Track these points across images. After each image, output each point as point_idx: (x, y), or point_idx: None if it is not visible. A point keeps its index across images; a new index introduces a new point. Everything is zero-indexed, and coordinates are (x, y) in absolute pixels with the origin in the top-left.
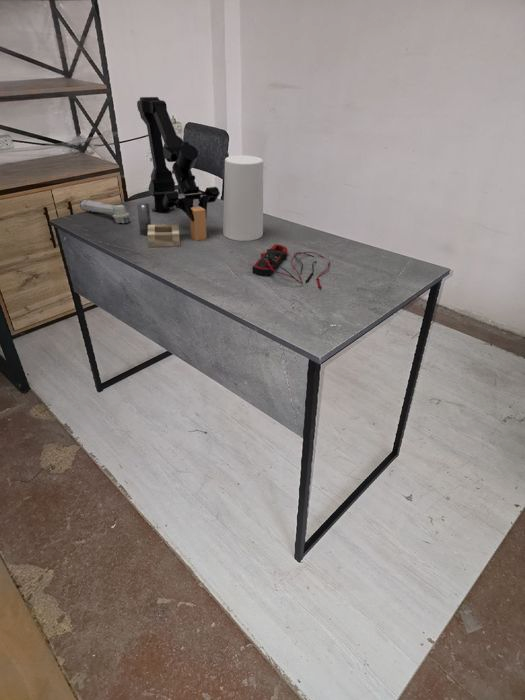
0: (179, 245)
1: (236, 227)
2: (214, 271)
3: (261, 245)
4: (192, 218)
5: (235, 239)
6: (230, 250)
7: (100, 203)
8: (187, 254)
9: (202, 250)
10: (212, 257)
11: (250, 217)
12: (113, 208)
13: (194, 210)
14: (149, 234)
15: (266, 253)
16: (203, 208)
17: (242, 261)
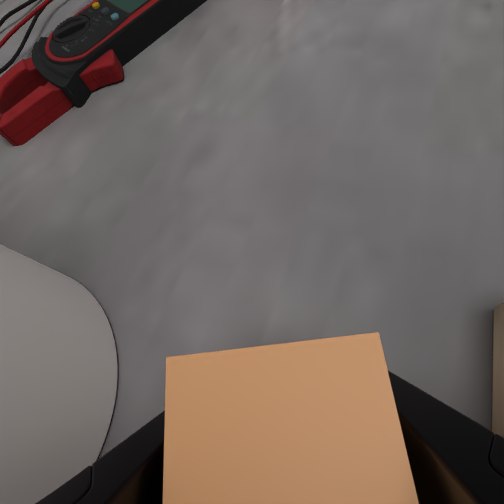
0: (499, 309)
1: (31, 268)
2: (352, 2)
3: (31, 199)
4: (394, 374)
5: (93, 298)
6: (196, 173)
7: None
8: (450, 168)
9: (344, 203)
10: (317, 114)
11: None
12: None
13: (364, 378)
14: None
15: (100, 37)
16: (164, 450)
17: (205, 65)
